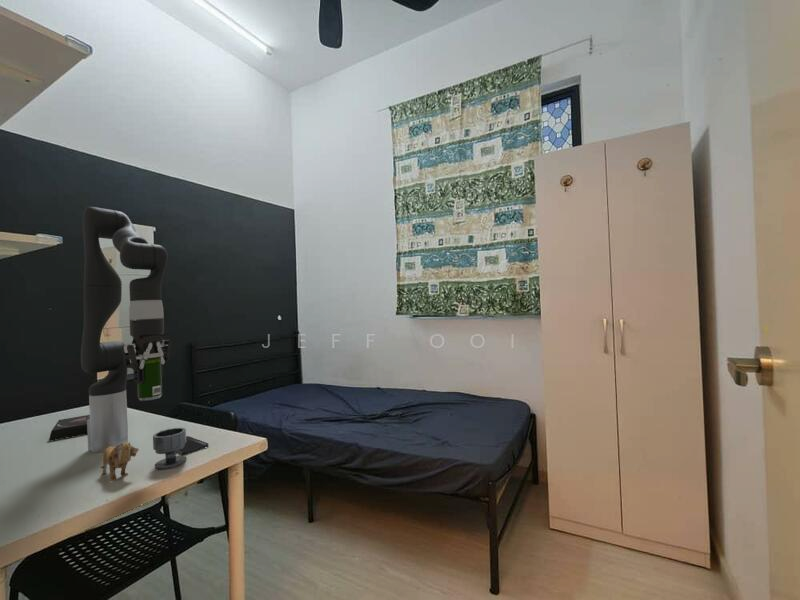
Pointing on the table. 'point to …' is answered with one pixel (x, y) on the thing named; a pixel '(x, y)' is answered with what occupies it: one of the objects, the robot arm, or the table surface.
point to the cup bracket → (169, 447)
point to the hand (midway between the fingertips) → (149, 380)
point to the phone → (192, 446)
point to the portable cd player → (70, 427)
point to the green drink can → (151, 378)
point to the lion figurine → (118, 458)
